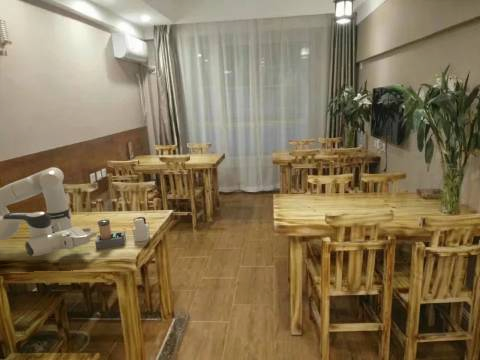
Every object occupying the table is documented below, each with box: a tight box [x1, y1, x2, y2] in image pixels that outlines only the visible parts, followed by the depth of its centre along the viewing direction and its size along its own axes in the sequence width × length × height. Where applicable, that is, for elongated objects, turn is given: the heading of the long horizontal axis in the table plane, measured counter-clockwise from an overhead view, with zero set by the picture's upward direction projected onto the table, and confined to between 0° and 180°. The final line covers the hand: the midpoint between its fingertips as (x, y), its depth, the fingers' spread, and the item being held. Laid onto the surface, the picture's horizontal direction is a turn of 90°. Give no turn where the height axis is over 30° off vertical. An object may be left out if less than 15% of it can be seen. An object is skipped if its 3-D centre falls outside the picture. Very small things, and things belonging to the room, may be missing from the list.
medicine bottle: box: [132, 216, 151, 243], centre depth 189 cm, size 7×7×12 cm
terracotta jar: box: [97, 218, 112, 240], centre depth 185 cm, size 6×6×12 cm
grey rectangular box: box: [94, 230, 127, 250], centre depth 187 cm, size 14×10×5 cm
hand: (93, 231), depth 181 cm, fingers open, 8 cm apart
